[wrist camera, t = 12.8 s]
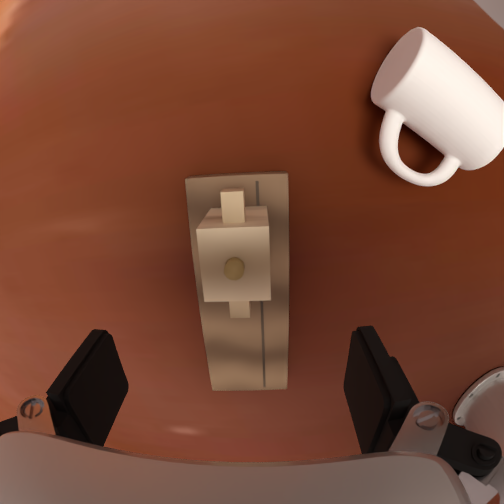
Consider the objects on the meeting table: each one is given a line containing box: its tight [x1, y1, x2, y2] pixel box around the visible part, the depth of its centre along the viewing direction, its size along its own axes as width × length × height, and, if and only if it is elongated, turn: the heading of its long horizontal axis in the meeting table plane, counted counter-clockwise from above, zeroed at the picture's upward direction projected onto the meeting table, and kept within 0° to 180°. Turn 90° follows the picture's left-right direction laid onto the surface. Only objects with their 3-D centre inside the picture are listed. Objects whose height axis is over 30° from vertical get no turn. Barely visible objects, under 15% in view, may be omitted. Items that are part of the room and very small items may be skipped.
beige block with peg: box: [196, 188, 271, 318], centre depth 22 cm, size 9×4×7 cm, turn 3°
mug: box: [371, 27, 504, 186], centre depth 20 cm, size 12×10×8 cm
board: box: [185, 171, 289, 391], centre depth 28 cm, size 22×8×2 cm, turn 3°
